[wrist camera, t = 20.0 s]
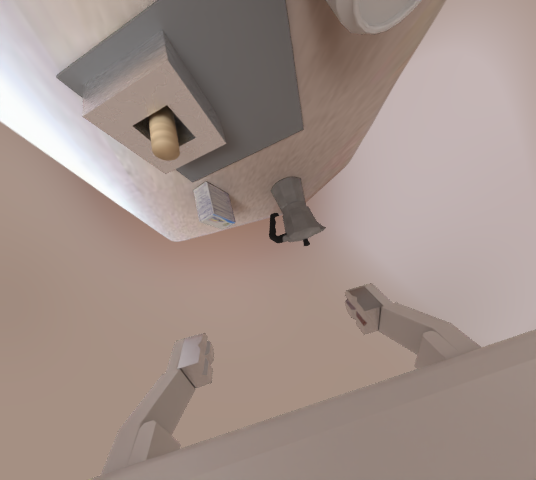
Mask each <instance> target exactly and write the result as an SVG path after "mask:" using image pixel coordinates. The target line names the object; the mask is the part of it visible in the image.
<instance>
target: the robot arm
mask: <svg viewBox="0 0 536 480" xmlns="http://www.w3.org/2000/svg"><path fill="white" fill-rule="evenodd" d="M345 296H346V298H347V300H346V301H345V305H346V309H347V311H348V313H349V315H350V316H351V318H353V319H355V320H356V324H357V326H358V327H359V329H360V330H361V332H362V333H363V334H368V333H371V332H375V331H379V332H381V333H382V334H384V335H386V336H387V337H389V338H391V339H392V340H394V341H396V342H397V343H399V344H401V345H402V346H404V347H405V348H407V349H409V350H410V351H412V352H414V353H415V354H417V358H416V361H415V367H416V368H417V369H416V370H413V371H410V372H407V373H404V374H401V375H399V376H395V377H393V378H389V379H387V380H384V381H381V382H378V383H375V384H372V385H369V386H366V387H363V388H360V389H357V390H354V391H351V392H348V393H345V394H342V395H339V396H336V397H333V398H330V399H327V400H324V401H321V402H318V403H315V404H312V405H309V406H306V407H304V408H300V409H298V410H294V411H291V412H288V413H285V414H282V415H279V416H276V417H273V418H270V419H268V420H264V421H262V422H258V423H255V424H252V425H249V426H246V427H243V428H241V429H238V430H235V431H232V432H229V433H226V434H223V435H220V436H217V437H214V438H211V439H208V440H205V441H202V442H199V443H196V444H193V445H190V446H187V447H184V448H181V449H180V443H179V442H178V441H177V440H176V439H175V438H174V437H173V436H172V433H173V431H174V430H175V428H176V426H177V424H178V422H179V420H180V418H181V416H182V414H183V412H184V410H185V408H186V407H187V404H188V403H189V401H190V399H191V397H192V395H193V393H194V391H195V388H198V387H201V386H204V385H206V384H209V383H212V372H213V369H212V367H211V363H212V362H213V357H214V352H213V347H212V344H211V342H209V341H207V335H206V334H205V333H203V334H199V335H195V336H192V337H188V338H185V339H181V340H177V341H176V342H175V344H174V347H173V350H172V354H171V357H170V360H169V364H168V367H167V371H166V373H164V374H163V375H162V376H161V377H160V378H159V380H158V381H157V382H156V384H155V385H154V386H153V387H152V388H151V390H150V391H149V392H148V394H147V395H146V396H145V397H144V399H143V400H142V401H141V403H140V404H139V405H138V406H137V408H136V409H135V410H134V411H133V413H132V414H131V415H130V416H129V418H128V419H127V420H126V422H125V423H124V424H123V425H122V427H121V428H120V429H119V431H118V433H117V436H116V438H115V441H114V444H113V446H112V448H111V451H110V453H109V456H108V458H107V461H106V463H105V466H104V468H103V471H102V473H101V475H100V476H97V477H94V478H92V479H89V480H536V330H533V331H530V332H527V333H524V334H521V335H518V336H515V337H512V338H509V339H506V340H503V341H500V342H497V343H494V344H491V345H488V346H485V347H481V346H479V345H478V344H477V343H475V342H474V341H473V340H472V339H470V338H469V337H468V336H467V335H465V334H464V333H463V332H461V331H460V330H459V329H458V328H457V327H455V326H454V325H453V324H451V323H449V322H446V321H444V320H441V319H438V318H436V317H433V316H430V315H428V314H425V313H423V312H420V311H417V310H415V309H412V308H409V307H407V306H404V305H401V304H399V303H393V302H392V301H390V300H389V299H388V298H387V297H386V296H385V295H384V294H383V293H382V292H381V291H380V290H379V289H378V288H377V287H376V286H374V285H373V284H372V283H370V284H366V285H363V286H359V287H356V288H353V289H350V290H346V292H345Z"/></svg>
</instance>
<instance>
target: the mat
mask: <svg viewBox="0 0 536 480" xmlns="http://www.w3.org/2000/svg"><path fill="white" fill-rule="evenodd" d="M161 30H163V31H164V33H165V34H166V36H167V37H168V39H169V40H170V42H171V44H172V45H173V47H174V48H175V50H176V51H177V53H178V55H179V56H180V58H181V59H182V61H183V62H184V64H185V66H186V67H187V69H188V70H189V72H190V73H191V75H192V76H193V78H194V80H195V81H196V83H197V84H198V86H199V87H200V89H201V91H202V92H203V94H204V95H205V97H206V98H207V100H208V101H209V103H210V105H211V106H212V108H213V109H214V111H215V112H216V114H217V116H218V117H219V119H220V122H221V126H222V129H223V133H224V137H225V141H226V144H224V145H223V146H221V147H219V148H217V149H215V150H213V151H211V152H209V153H207V154H205V155H203V156H201V157H199V158H197V159H195V160H193V161H191V162H189V163H187V164H185V165H183V166H181V167H179V168H177V169H176V170H177V171H178V172H180V173H181V174H182V175H184V176H185V177H186V178H188V179H189V180H190V181H191V182H194V181H196V180H198V179H200V178H203V177H205V176H207V175H209V174H211V173H213V172H215V171H217V170H219V169H221V168H224V167H226V166H228V165H230V164H232V163H234V162H236V161H238V160H240V159H242V158H245V157H247V156H249V155H251V154H253V153H255V152H257V151H259V150H261V149H263V148H266V147H268V146H270V145H272V144H274V143H276V142H278V141H280V140H282V139H284V138H287V137H289V136H291V135H293V134H295V133H297V132H299V131H301V130H303V122H302V115H301V108H300V101H299V94H298V86H297V79H296V72H295V65H294V58H293V51H292V44H291V37H290V30H289V23H288V16H287V9H286V2H285V0H158V1H156V2H155V3H154V4H152V5H151V6H149V7H148V8H147V9H145V10H144V11H143V12H141V13H140V14H139V15H137V16H136V17H135V18H133V19H132V20H131V21H129V22H128V23H127V24H125V25H124V26H122V27H121V28H120V29H118V30H117V31H116V32H114V33H113V34H112V35H110V36H109V37H108V38H106V39H105V40H104V41H102V42H101V43H99V44H98V45H97V46H95V47H94V48H93V49H91V50H90V51H89V52H87V53H86V54H85V55H83V56H82V57H81V58H79V59H78V60H77V61H75V62H74V63H72V64H71V65H70V66H68V67H67V68H66V69H64V70H63V71H62V72H60V73H59V74H58V75H57V77H56V78H58V79H59V80H60V81H61V82H63V83H64V84H65V85H67V86H68V87H69V88H71V89H72V90H73V91H74V92H76V93H77V94H78V95H80V96H81V97H82V98H83V84H85V83H86V82H88V81H89V80H91V79H92V78H94V77H95V76H96V75H98V74H99V73H101V72H102V71H104V70H105V69H106V68H108V67H109V66H111V65H112V64H114V63H115V62H116V61H118V60H119V59H121V58H122V57H124V56H125V55H126V54H128V53H129V52H131V51H132V50H134V49H135V48H137V47H138V46H139V45H141V44H142V43H144V42H145V41H147V40H148V39H149V38H151V37H152V36H154V35H155V34H157V33H158V32H159V31H161ZM173 114H174V120H177V119H179V118H178V117H177V116H176V115H175V113H174V112H173Z"/></svg>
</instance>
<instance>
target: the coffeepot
mask: <svg viewBox="0 0 536 480" xmlns="http://www.w3.org/2000/svg"><path fill="white" fill-rule="evenodd" d="M271 192H272V194H273V196H274V198H275V200H276V202H277V203H278V205H279V207H280V209H281V211H282V213H283V221H284V226H285V232H286V233H285V234H282V235H280V236H276V229H275V224H276V221H275V217H276V216H279V215H278V213H273V214H271V215H270V231H269V232H270V233H269V237H270V239H271V240H273V241H275V242H276V243H282V242H286V241H288V242H294V241H301V240H303V242H304V246H308V245H309V244H310V243H309V241H308V238H309V237H311V236H313V235H314V234H317V233H319V232H321V231H323V230H324V229H325V228H326V227H323V226H322V225H321V224H319V223H318V222H317V221H316V219H315V218H314V216H313V214H312V212H311V211H310V209H309V207H307V206H306V203H305V198H304V194H303V189H302V184H301V179H300V178H297V177H288V178H284V179H282V180H280V181H278V182H277V183H276V184H275V185H274V186H273V187H272V190H271Z"/></svg>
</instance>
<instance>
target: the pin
mask: <svg viewBox="0 0 536 480" xmlns="http://www.w3.org/2000/svg"><path fill="white" fill-rule="evenodd" d="M148 119H149V128H150V137H151V146H152V152H153V154H154V155H155V156H156V157H158V158H159V159H162V160H166V161H171V160H175V159H177V158H178V157H179V155H180V149H179V143H178V137H177V131H176V125H175V120H174V114H173V111H172V110H171V109H170V108H169V107H168V106H167V105H166V106H165V107H163V108H161V109H160V110H158V111H156V112H155V113H153V114H151V115H150V116H148Z"/></svg>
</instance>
